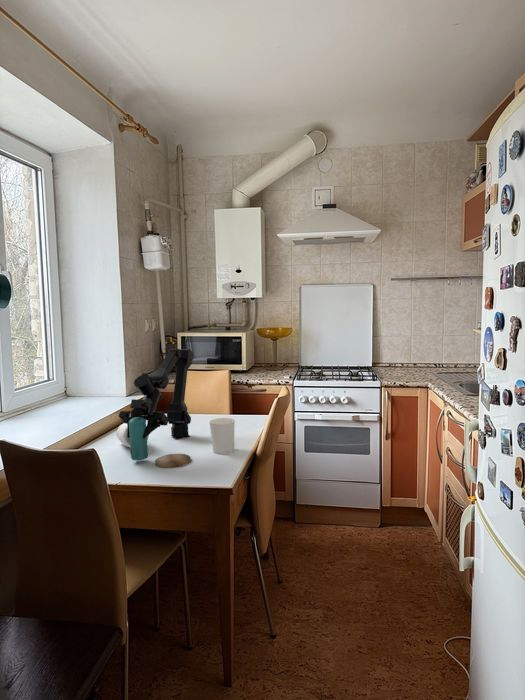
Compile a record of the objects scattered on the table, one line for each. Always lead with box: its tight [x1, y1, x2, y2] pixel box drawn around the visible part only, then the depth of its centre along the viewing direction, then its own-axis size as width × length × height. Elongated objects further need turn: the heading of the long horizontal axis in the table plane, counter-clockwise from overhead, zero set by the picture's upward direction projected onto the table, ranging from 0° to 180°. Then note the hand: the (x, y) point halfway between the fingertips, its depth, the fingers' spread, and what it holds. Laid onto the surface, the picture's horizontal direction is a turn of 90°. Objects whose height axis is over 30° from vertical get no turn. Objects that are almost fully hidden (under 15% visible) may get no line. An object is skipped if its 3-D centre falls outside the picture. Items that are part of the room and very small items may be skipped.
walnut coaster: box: [154, 453, 192, 469], centre depth 173 cm, size 13×13×1 cm
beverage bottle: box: [129, 408, 149, 461], centre depth 174 cm, size 6×7×20 cm
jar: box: [116, 422, 150, 448], centre depth 195 cm, size 11×10×15 cm
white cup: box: [209, 417, 236, 455], centre depth 184 cm, size 10×10×12 cm
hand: (135, 437), depth 173 cm, fingers closed on beverage bottle, 6 cm apart
